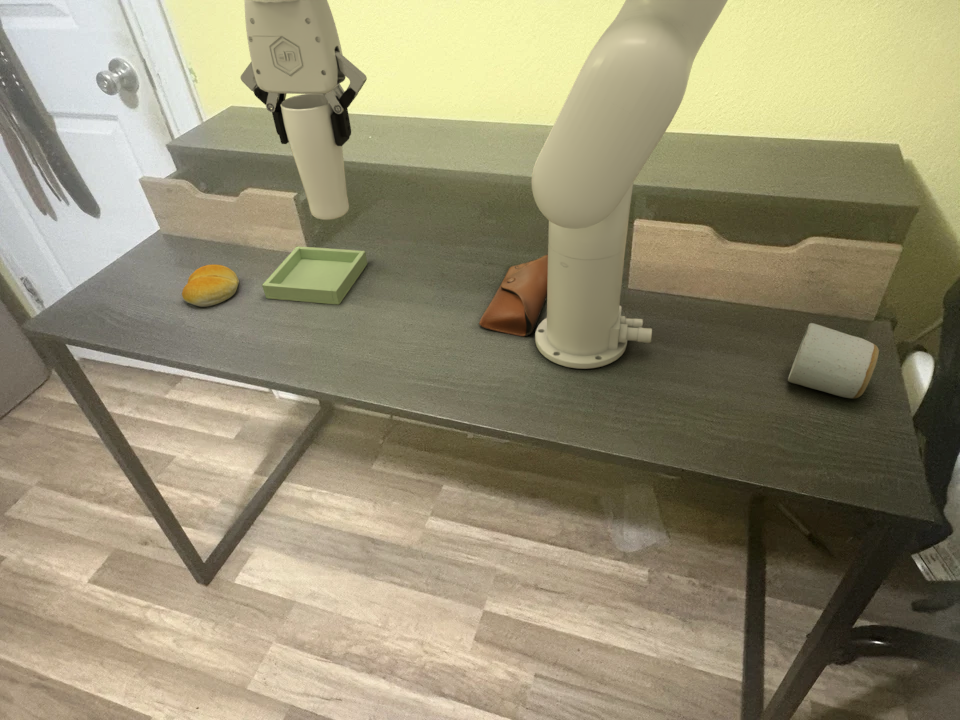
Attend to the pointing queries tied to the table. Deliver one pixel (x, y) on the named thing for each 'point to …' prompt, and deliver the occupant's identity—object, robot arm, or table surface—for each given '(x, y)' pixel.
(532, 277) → the sunglasses case
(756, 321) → the table surface
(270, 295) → the tray
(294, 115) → the drinking glass
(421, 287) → the table surface
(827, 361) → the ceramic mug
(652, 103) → the robot arm
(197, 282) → the bread roll
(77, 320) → the table surface
